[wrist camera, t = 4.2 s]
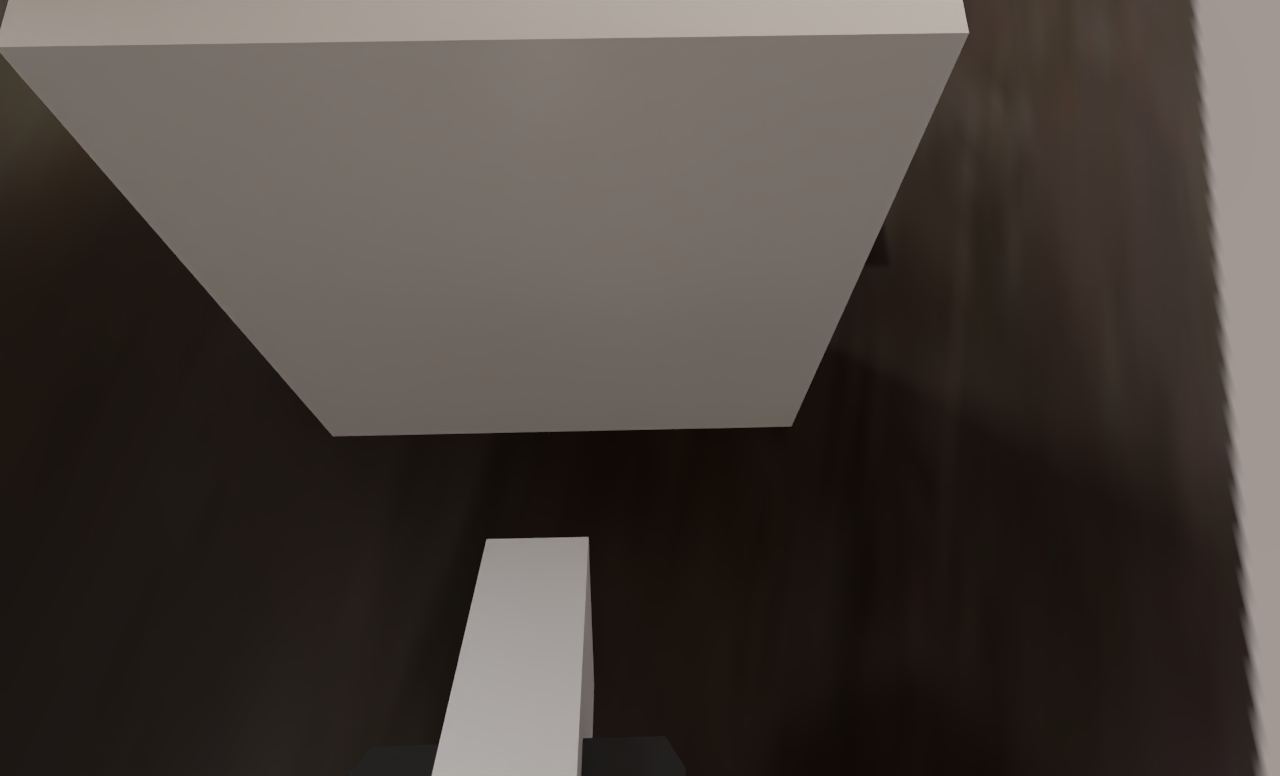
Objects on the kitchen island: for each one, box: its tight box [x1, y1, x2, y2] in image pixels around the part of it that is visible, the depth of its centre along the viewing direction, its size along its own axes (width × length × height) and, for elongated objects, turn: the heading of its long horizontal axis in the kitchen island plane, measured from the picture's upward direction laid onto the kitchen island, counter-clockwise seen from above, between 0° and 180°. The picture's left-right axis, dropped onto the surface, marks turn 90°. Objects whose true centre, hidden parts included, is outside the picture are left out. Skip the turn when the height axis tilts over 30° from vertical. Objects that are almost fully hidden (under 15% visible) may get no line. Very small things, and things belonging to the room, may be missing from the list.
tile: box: [0, 0, 969, 436], centre depth 16 cm, size 3×10×12 cm, turn 91°
